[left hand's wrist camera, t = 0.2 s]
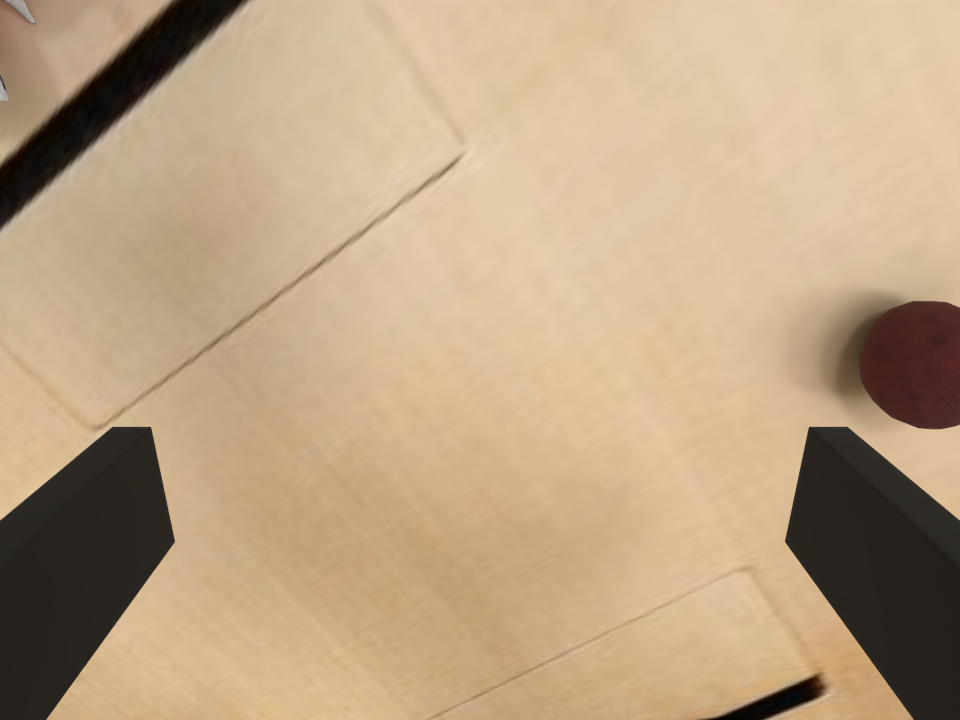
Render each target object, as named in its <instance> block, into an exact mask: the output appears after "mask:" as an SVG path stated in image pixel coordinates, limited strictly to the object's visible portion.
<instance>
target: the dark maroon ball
mask: <svg viewBox="0 0 960 720" xmlns="http://www.w3.org/2000/svg"><path fill="white" fill-rule="evenodd" d="M860 372H861V381H862V383H863V385H864V387H865V389H866V390H867V392H868V394H869V395H870V397H871V398H872V400H873V401H874V402H875V403H876V404H877V405H878V406H879V407H880V408H881V409H882V410H883V411H885V412H886V413H887V414H888V415H889V416H891V417H892V418H894V419H897V420H899V421H902V422H904V423H907V424H909V425H912V426H914V427H917V428H924V429H944V428H949V427H954V426H957V425H960V308H959V307H957V306H954V305H952V304H949V303H947V302H936V301H913V302H909V303H906V304H904V305H901V306H898V307H895V308H892V309H890V310H889V311H887V312H886V313H885V314H884V315H882V316H881V317H880V318H879V319H877V320H876V322H875V323H874V325H873V326H872V327H871V329H870V330H869V332H868V333H867V336H866V339H865V343H864V346H863V349H862V352H861V357H860Z"/></svg>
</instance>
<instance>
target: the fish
mask: <svg viewBox="0 0 960 720" xmlns="http://www.w3.org/2000/svg"><path fill="white" fill-rule="evenodd" d="M5 1H6V2H7V3H9V4H10V5H11V6H12V7H13V8H14V9H16V10H17V11H18V12H19V13H20V14H21V15H22V16H24V17H25V18H26V19H27V20H28V21H29V22H30V23H35V21H34V19H33V17H32V16H31V14H30V12H29V10H28V8H27V6H26V4H25V2H24V0H5ZM0 100H7V101H9V99H8V95H7V92H6V88H5V85H4V82H3V80H2V78H1V76H0Z"/></svg>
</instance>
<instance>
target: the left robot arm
mask: <svg viewBox="0 0 960 720" xmlns="http://www.w3.org/2000/svg"><path fill="white" fill-rule="evenodd" d="M174 542H175V540H174V535H173V530H172V525H171V520H170V516H169V511H168V506H167V501H166V496H165V492H164V487H163V482H162V477H161V472H160V468H159V463H158V458H157V453H156V449H155V444H154V439H153V434H152V429H151V427H112V428H111V429H110V430H108V431H107V432H106V433H105V434H104V435H102V436H101V437H100V438H99V439H98V440H96V441H95V442H94V443H93V444H92V445H90V446H89V447H88V448H87V449H86V450H84V451H83V452H82V453H81V454H80V455H78V456H77V457H76V458H75V459H74V460H72V461H71V462H70V463H69V464H68V465H66V466H65V467H64V468H63V469H62V470H60V471H59V472H58V473H57V474H56V475H54V476H53V477H52V478H51V479H50V480H48V481H47V482H46V483H45V484H44V485H42V486H41V487H40V488H39V489H38V490H36V491H35V492H34V493H33V494H32V495H30V496H29V497H28V498H27V499H26V500H24V501H23V502H22V503H21V504H20V505H18V506H17V507H16V508H15V509H14V510H12V511H11V512H10V513H9V514H8V515H6V516H5V517H4V518H3V519H2V520H0V720H46V719H47V718H48V716H49V715H50V714H51V712H52V711H53V710H54V708H55V707H56V705H57V704H58V703H59V701H60V700H61V698H62V697H63V696H64V694H65V693H66V692H67V690H68V689H69V687H70V686H71V685H72V683H73V682H74V681H75V679H76V678H77V676H78V675H79V674H80V672H81V671H82V669H83V668H84V667H85V665H86V664H87V663H88V661H89V660H90V658H91V657H92V656H93V654H94V653H95V652H96V650H97V649H98V647H99V646H100V645H101V643H102V642H103V640H104V639H105V638H106V636H107V635H108V634H109V632H110V631H111V629H112V628H113V627H114V625H115V624H116V623H117V621H118V620H119V618H120V617H121V616H122V614H123V613H124V611H125V610H126V609H127V607H128V606H129V605H130V603H131V602H132V600H133V599H134V598H135V596H136V595H137V594H138V592H139V591H140V589H141V588H142V587H143V585H144V584H145V582H146V581H147V580H148V578H149V577H150V576H151V574H152V573H153V571H154V570H155V569H156V567H157V566H158V565H159V563H160V562H161V560H162V559H163V558H164V556H165V555H166V553H167V552H168V551H169V549H170V548H171V547H172V545H173V544H174ZM785 542H786V544H787V545H788V547H789V548H790V549H791V551H792V552H793V553H794V555H795V556H796V558H797V559H798V560H799V562H800V563H801V565H802V566H803V567H804V569H805V570H806V571H807V573H808V574H809V576H810V577H811V578H812V580H813V581H814V582H815V584H816V585H817V587H818V588H819V589H820V591H821V592H822V594H823V595H824V596H825V598H826V599H827V600H828V602H829V603H830V605H831V606H832V607H833V609H834V610H835V611H836V613H837V614H838V616H839V617H840V618H841V620H842V621H843V623H844V624H845V625H846V627H847V628H848V629H849V631H850V632H851V634H852V635H853V636H854V638H855V639H856V640H857V642H858V643H859V645H860V646H861V647H862V649H863V650H864V652H865V653H866V654H867V656H868V657H869V658H870V660H871V661H872V663H873V664H874V665H875V667H876V668H877V669H878V671H879V672H880V674H881V675H882V676H883V678H884V679H885V681H886V682H887V683H888V685H889V686H890V687H891V689H892V690H893V692H894V693H895V694H896V696H897V697H898V698H899V700H900V701H901V703H902V704H903V705H904V707H905V708H906V710H907V711H908V712H909V714H910V715H911V716H912V718H913V719H914V720H960V520H958V519H957V518H956V517H955V516H954V515H952V514H951V513H950V512H949V511H948V510H946V509H945V508H944V507H943V506H942V505H940V504H939V503H938V502H937V501H936V500H934V499H933V498H932V497H931V496H930V495H928V494H927V493H926V492H925V491H924V490H922V489H921V488H920V487H919V486H918V485H916V484H915V483H914V482H913V481H912V480H910V479H909V478H908V477H907V476H906V475H904V474H903V473H902V472H901V471H900V470H898V469H897V468H896V467H895V466H894V465H892V464H891V463H890V462H889V461H888V460H886V459H885V458H884V457H883V456H882V455H880V454H879V453H878V452H877V451H876V450H874V449H873V448H872V447H871V446H870V445H868V444H867V443H866V442H865V441H864V440H862V439H861V438H860V437H859V436H858V435H856V434H855V433H854V432H853V431H852V430H850V429H849V428H848V427H809V429H808V434H807V439H806V444H805V449H804V453H803V458H802V463H801V468H800V472H799V477H798V482H797V487H796V492H795V496H794V501H793V506H792V511H791V516H790V520H789V525H788V530H787V535H786V540H785Z"/></svg>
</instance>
